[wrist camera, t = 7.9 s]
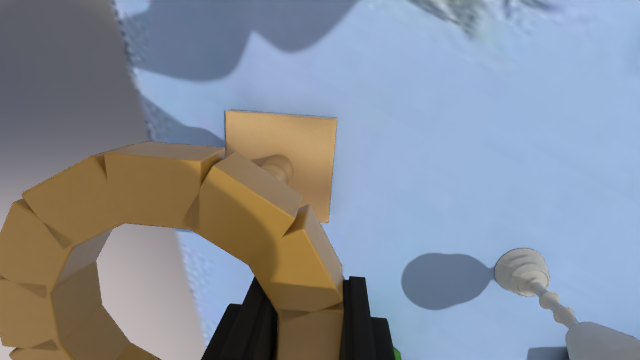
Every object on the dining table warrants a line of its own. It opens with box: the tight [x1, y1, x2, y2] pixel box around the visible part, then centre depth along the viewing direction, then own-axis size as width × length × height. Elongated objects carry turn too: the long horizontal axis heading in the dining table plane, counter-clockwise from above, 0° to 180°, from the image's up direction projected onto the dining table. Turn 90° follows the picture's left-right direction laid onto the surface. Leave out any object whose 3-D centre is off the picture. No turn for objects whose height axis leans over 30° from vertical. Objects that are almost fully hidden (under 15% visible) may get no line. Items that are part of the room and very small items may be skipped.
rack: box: [226, 110, 337, 223], centre depth 27 cm, size 10×10×10 cm
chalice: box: [495, 248, 640, 360], centre depth 24 cm, size 7×7×18 cm
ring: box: [0, 141, 345, 360], centre depth 11 cm, size 11×11×2 cm
